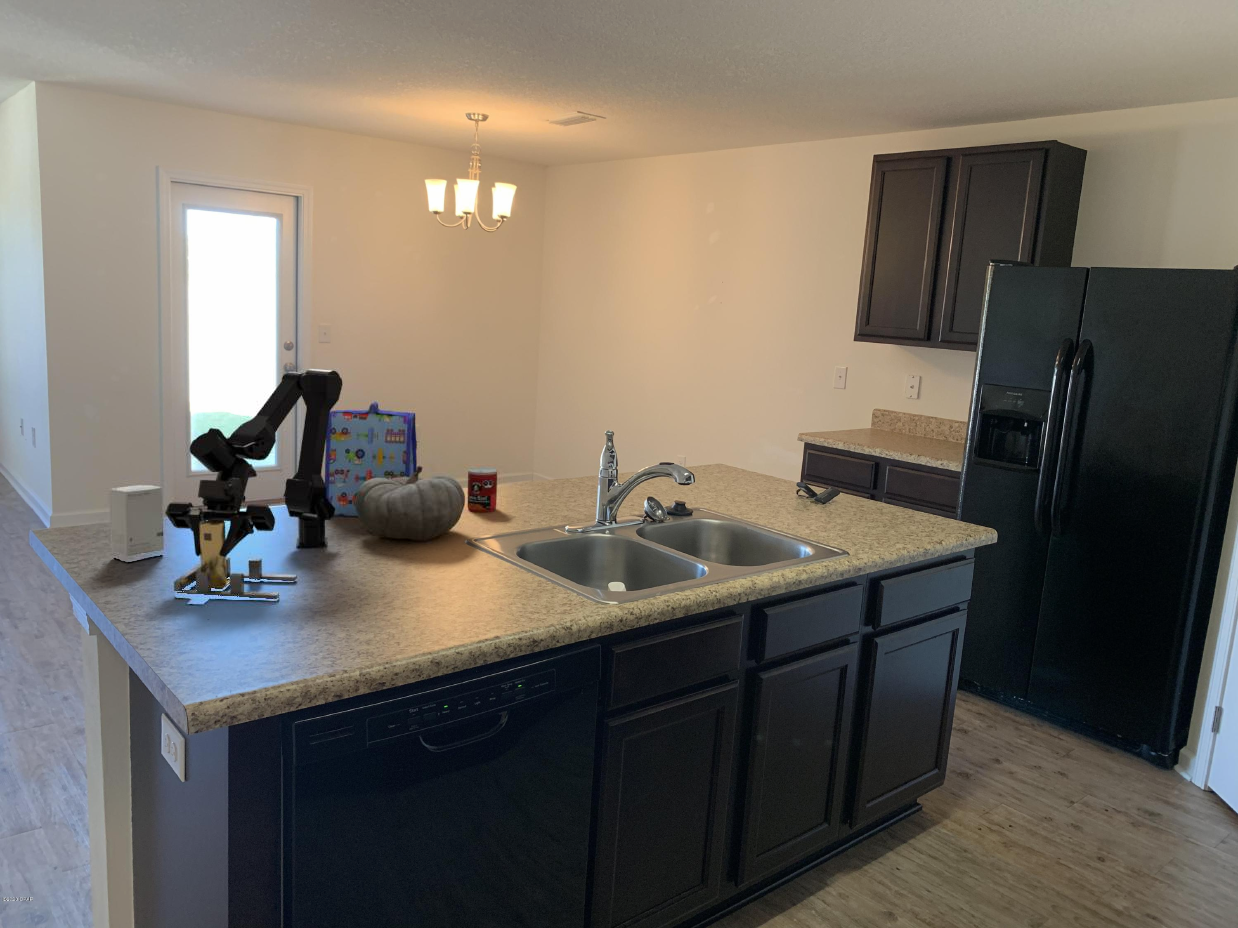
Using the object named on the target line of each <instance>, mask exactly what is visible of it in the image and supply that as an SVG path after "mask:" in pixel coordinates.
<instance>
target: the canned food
mask: <svg viewBox="0 0 1238 928" xmlns="http://www.w3.org/2000/svg"><path fill="white" fill-rule="evenodd" d="M497 488H498V470H497V469H496V468H493V467H484V466H483V467H482V466H479V467H478V466H477V467H472V468H468V471H467V509H468V511H470V512H472V513H492V512H494V511H495V510H496V509H497V500H498V499H497V495H498V494H497V493H498V489H497Z"/></svg>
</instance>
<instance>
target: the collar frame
mask: <svg viewBox="0 0 1238 928" xmlns="http://www.w3.org/2000/svg"><path fill="white" fill-rule="evenodd" d="M262 559H263V558H254V557H253V558H250V559H248V572H247V573H246V572H245V573H243V572H242V573H239V572H236V573H235V572H231V557H226V567H227V578H228V577H230V586H229V591H228V590H225V591H211V580H210V573H204V572H201V563H200V564H197V565H196V566H194V567H192V568H191V569H190V570H189V571H187V572H185V573H183V575H181V576H180V577H179V578H177V579H176V580H174V581H173V590H174V591H182V592H177V593H187V594H204V595H218V596H219V595H220V596H237V597H238V596H239V597H249V598H266V599H277V598H279V599H280V592H267V591H266V592H263V591H245V582H244V578H249V579H255V580H256V579H257V580H260V579H267V580H282V581H294V582H295V580H296V579H297V580H298V574H276V573H273V574H272V573H263V564H262V563H263V561H262ZM194 581H196V586H195V587H196V590H197V591H196V590H195V589H193V590H192V589H191V590H182V589H184V588H185V587H186V586H188V585H190V584H191V583H193V582H194ZM295 583H296V582H295ZM174 591H173V592H174ZM183 591H184V592H183Z"/></svg>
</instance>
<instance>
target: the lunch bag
mask: <svg viewBox="0 0 1238 928" xmlns="http://www.w3.org/2000/svg"><path fill="white" fill-rule="evenodd" d="M416 430H417V429H416V412H408V411H407V412H404V411H403V412H402V411H393V410H384V409H383V410H382V409H380V408H379V403H378V402H377V401H374V402H371V404H370V405H369V408H368V409H366V410H364V409H363V410H359V409H358V410H356V409H355V410H349V409H345V410H344V409H343V410H330V414H329V421H328V428H327V435H326V442H325V454H324V456H325V459H324V460H325V461H324V483H325V485H326V498H327V499H328V500H329V501H330V503H331V504H332V505H333V506H334V507H335V513H334V516H345V517H359V516H358V514H357V511H356V507H355V500H356V495H357V492H358V489H359V488H360V486H361V485H362V484H363V483H364V482H366V481H368V480H370V479H373V478H386V479H392V478H398V477H411V475H412V474H414V472H415V471H417V467H418V466H417V464H418V461H417V459H418V458H417V450H418V442H417V431H416Z"/></svg>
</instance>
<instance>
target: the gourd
mask: <svg viewBox="0 0 1238 928" xmlns="http://www.w3.org/2000/svg"><path fill="white" fill-rule="evenodd" d="M422 472H423V466H420V465H418V466H417V471H415V472H414V474H412V475H411V477H398V478H392V479H386V478H373V479H370V480H368V481H366V482H364V483H363V484H362V485H361V486H360V488H359V489H358V492H357V495H356V500H355V507H356V511H357V514H358V516H357V517H358V518H359V520H360V522H361V523H362V525H364V527H365V528H366V529H367V530H368V531H370V533H371V534H373V535H374V536H377V537H380V538H392V539H393V538H394V539H397V540H402V539H405V540H406V539H410V540H412V541H416V542H418V541H419V542H424V541H428V540H431V539H435V538H436V537H437V536H441V535H444V534H445V533H447V532H449V531H450V530H452V529H453V528H454V527H455V526H456V525H457V524H458V522H459V520H460V519H461V516H462V513H463V512H464V508H465V505H466V495H465V491H464V489H463V487H462V486H461V484H460V483H459V482H458V481H457V480H456V479H455V478H453V477H451V476H450V475H445V474H438V475H437V474H436V475H433V476H431V477H428V478H421V477H419V475H420V474H421V473H422Z"/></svg>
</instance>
